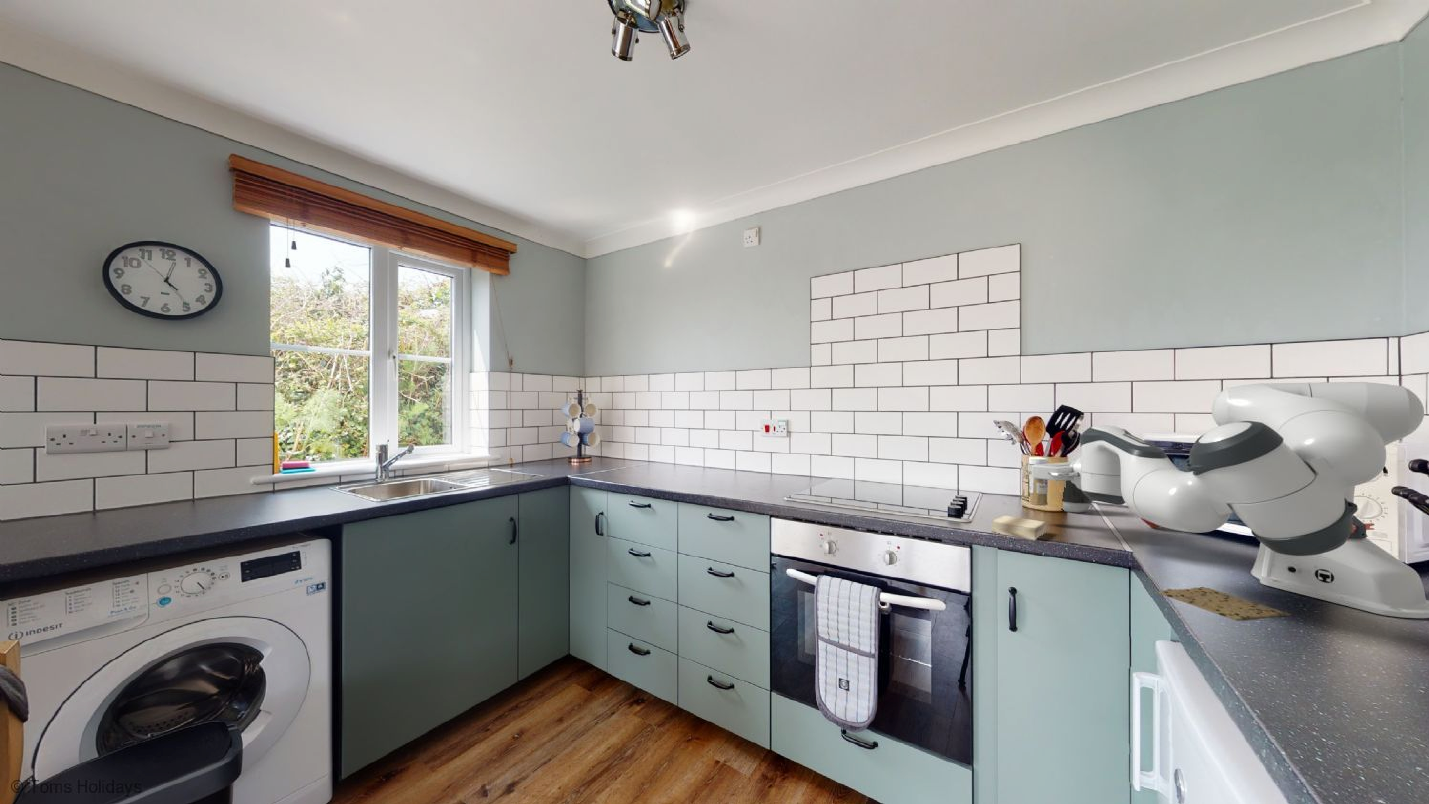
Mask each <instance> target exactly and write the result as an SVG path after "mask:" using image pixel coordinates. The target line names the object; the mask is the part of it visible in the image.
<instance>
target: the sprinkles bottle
mask: <svg viewBox="0 0 1429 804" xmlns="http://www.w3.org/2000/svg"><path fill="white" fill-rule="evenodd" d="M1037 464H1049V459H1048V458H1047V457H1040V456H1038V457H1037V456H1030V457H1029V458H1028V465H1037ZM1028 475H1029V477H1028V478H1029V491H1028V492H1029V501H1028V503H1029V504H1030V505H1033V506H1038V507H1039V506H1040V507H1041V506H1042V507H1043V506H1044V507H1045V506H1048V505H1049V504H1048V493H1049V492H1048V489H1049V488H1048V484H1049V483H1048V481H1049V480H1045V479H1037V478H1033V477H1032V473H1031V471H1029V474H1028Z"/></svg>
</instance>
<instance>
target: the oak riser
mask: <svg viewBox="0 0 1429 804" xmlns="http://www.w3.org/2000/svg"><path fill="white" fill-rule="evenodd" d="M1046 526H1047V525H1046V521H1042V520H1041V521H1040V520H1035V519H1029V518H1023V517H1017V516H1016V517H1015V516H1009V515H1005V514H1004V515H1002V516H1000V517H997V518H995V519H993V520H991V533H992V532H996V533H995V534H998V533H1000V534H999V535H1004V536H1008V537H1009V536H1010V537H1014V538H1015V537H1016V538H1020V539H1026V540H1030V541H1036V540H1038V539H1039V538H1040V537H1039V536H1041V535H1042V536H1044V535H1045V534H1046V531H1047V530H1046V529H1047V528H1046ZM1044 533H1045V534H1044ZM1043 534H1044V535H1043ZM1042 536H1041V537H1042ZM1038 537H1039V538H1038ZM1037 538H1038V539H1037Z"/></svg>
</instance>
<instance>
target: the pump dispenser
mask: <svg viewBox="0 0 1429 804" xmlns="http://www.w3.org/2000/svg"><path fill="white" fill-rule="evenodd" d="M1062 501H1063V510H1064V511H1063V510H1062V511H1063V512H1067V513H1072V512H1073V513H1074V514H1082V513H1084V512H1086V511H1088V510H1089V509H1090V508H1091V505H1092V503H1093V501H1092V500H1091V499H1089V498H1088V497H1087V496H1086V495H1085V494H1084V493H1083V492H1082V490H1081V489H1079V488H1077V487H1076V485H1075V484H1073V483H1072V482H1071V481H1070V480H1067V481H1066V488H1065V487H1064V492H1063V499H1062Z"/></svg>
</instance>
